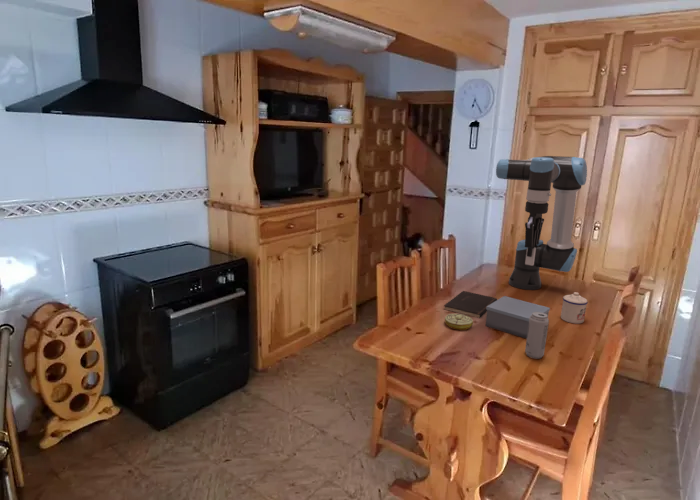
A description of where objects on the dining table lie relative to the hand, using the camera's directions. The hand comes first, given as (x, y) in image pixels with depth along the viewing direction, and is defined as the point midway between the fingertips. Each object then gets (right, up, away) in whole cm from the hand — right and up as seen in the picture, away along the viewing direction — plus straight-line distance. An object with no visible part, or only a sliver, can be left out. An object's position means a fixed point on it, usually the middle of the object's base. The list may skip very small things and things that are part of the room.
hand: (529, 264), depth 168 cm
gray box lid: (-1, -18, +8) cm, 20 cm away
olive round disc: (-24, -25, +10) cm, 36 cm away
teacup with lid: (+25, -23, +19) cm, 39 cm away
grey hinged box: (-2, -25, +10) cm, 27 cm away
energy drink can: (-4, -31, -13) cm, 34 cm away
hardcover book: (-14, -20, +30) cm, 39 cm away
